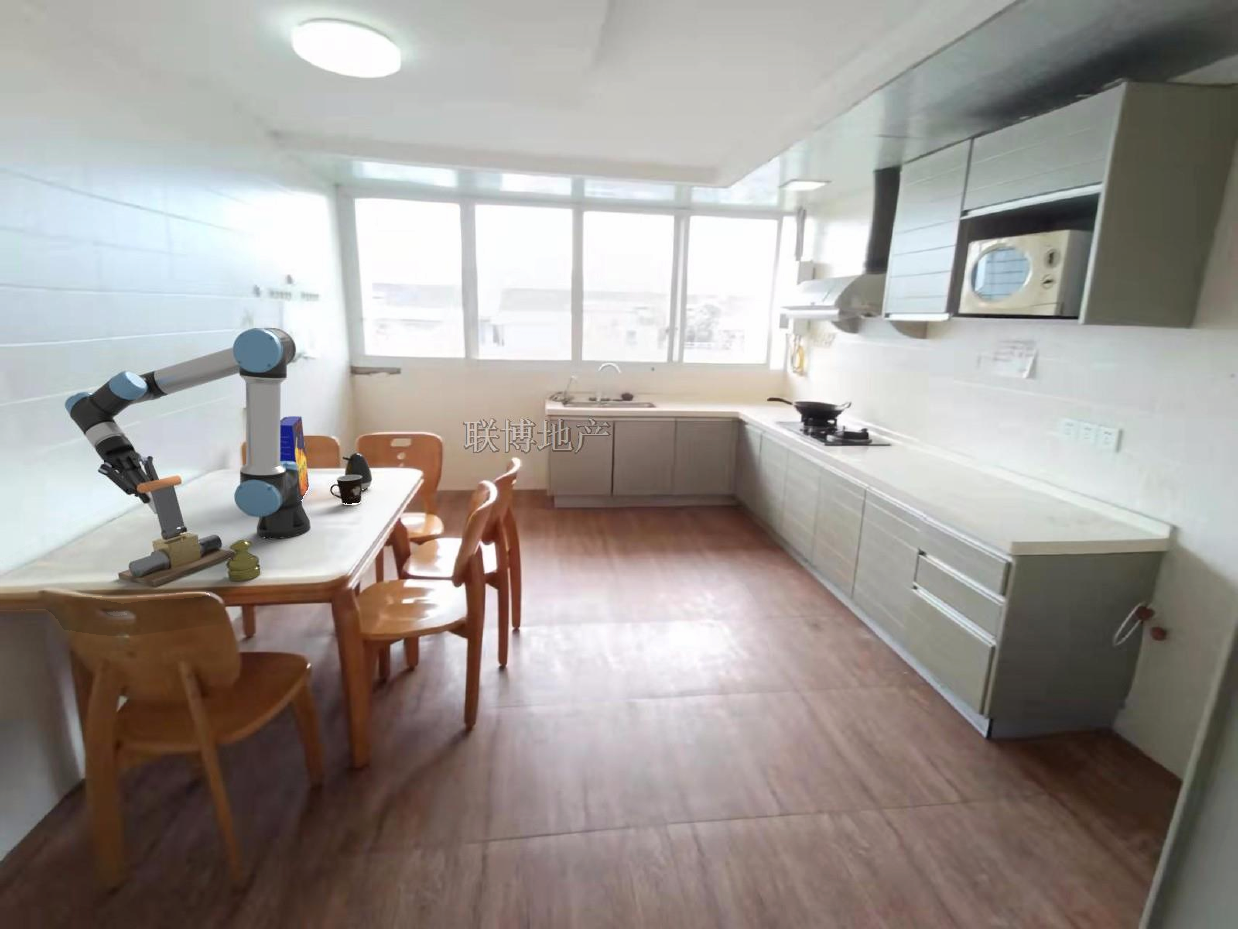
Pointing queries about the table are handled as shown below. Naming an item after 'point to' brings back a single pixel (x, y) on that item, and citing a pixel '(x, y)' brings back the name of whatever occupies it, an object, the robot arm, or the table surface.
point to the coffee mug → (349, 488)
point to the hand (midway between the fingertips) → (160, 510)
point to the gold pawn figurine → (242, 562)
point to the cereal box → (294, 447)
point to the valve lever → (166, 505)
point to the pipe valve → (176, 559)
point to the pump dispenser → (359, 468)
